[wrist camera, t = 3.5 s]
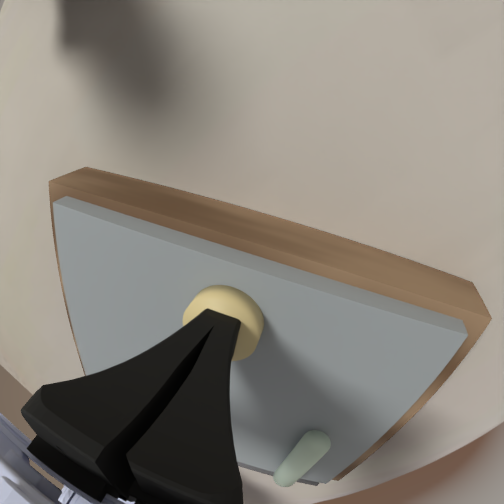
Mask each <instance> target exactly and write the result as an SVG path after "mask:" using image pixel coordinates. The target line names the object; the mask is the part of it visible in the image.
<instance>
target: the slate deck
mask: <svg viewBox="0 0 504 504" xmlns="http://www.w3.org/2000/svg"><path fill="white" fill-rule="evenodd" d="M53 212H54V223H55V233H56V241H57V249H58V256H59V263H60V269H61V275H62V281H63V286H64V292H65V297H66V301H67V306H68V311H69V315H70V319H71V324H72V328H73V332H74V336H75V339H76V343H77V347H78V350H79V354H80V357H81V361H82V364H83V367H84V370H85V374H86V376H87V375H90V374H94V373H97V372H100V371H103V370H105V369H108V368H110V367H113V366H115V365H118V364H120V363H122V362H125V361H127V360H129V359H131V358H133V357H135V356H137V355H139V354H141V353H143V352H144V351H146V350H148V349H150V348H151V347H153V346H155V345H156V344H158V343H160V342H161V341H163V340H164V339H166V338H167V337H169V336H170V335H172V334H173V333H175V332H176V331H178V330H179V329H180V328H182V327H183V326H185V325H186V324H187V323H189V322H190V321H191V320H192V319H194V318H195V317H196V316H197V315H199V314H200V313H201V312H202V311H203V310H205V309H207V308H209V309H211V310H214V311H217V312H220V313H222V314H225V315H228V316H231V317H234V318H237V319H239V320H240V322H241V326H240V330H239V334H238V338H237V342H236V347H235V351H234V355H233V358H232V360H231V371H230V412H231V424H232V432H233V440H234V447H235V453H236V458H237V463H238V466H241V467H244V468H247V469H250V470H254V471H257V472H261V473H264V474H268V475H271V476H273V479H274V481H275V483H276V484H278V485H279V486H282V487H289V486H291V485H293V484H294V483H295V482H300V483H305V484H310V485H315V486H317V485H318V484H319V482H320V483H325V484H326V483H328V482H329V481H330V480H332V479H333V478H334V477H335V476H337V475H338V474H339V473H341V472H342V471H343V470H344V469H345V468H347V467H348V466H349V465H350V464H352V463H353V462H354V461H355V460H356V459H357V458H359V457H360V456H361V455H362V454H363V453H364V452H365V451H367V450H368V449H369V448H370V447H371V446H372V445H373V444H374V443H375V442H376V441H378V440H379V439H380V438H381V437H382V436H383V435H384V434H385V433H386V432H387V431H388V430H389V429H390V428H391V427H392V426H393V425H394V424H395V423H396V422H397V421H398V420H399V419H400V418H401V417H402V416H403V415H404V414H405V413H406V412H407V411H408V410H409V408H410V407H411V406H412V405H413V404H414V403H415V402H416V401H417V400H418V399H419V397H420V396H421V395H422V394H423V393H424V392H425V391H426V389H427V388H428V387H429V386H430V385H431V384H432V382H433V381H434V380H435V379H436V377H437V376H438V375H439V374H440V373H441V371H442V370H443V369H444V367H445V366H446V365H447V364H448V362H449V361H450V360H451V358H452V357H453V356H454V354H455V353H456V352H457V350H458V349H459V348H460V346H461V345H462V343H463V342H464V341H465V339H466V338H467V336H468V333H467V330H466V328H465V325H464V323H463V320H461V319H457V318H454V317H451V316H448V315H445V314H441V313H438V312H435V311H432V310H428V309H425V308H422V307H419V306H416V305H412V304H409V303H406V302H403V301H399V300H396V299H393V298H390V297H387V296H383V295H380V294H377V293H374V292H371V291H367V290H364V289H361V288H358V287H354V286H351V285H348V284H345V283H342V282H338V281H335V280H332V279H329V278H326V277H322V276H319V275H316V274H313V273H310V272H306V271H303V270H300V269H297V268H294V267H291V266H287V265H284V264H281V263H278V262H275V261H271V260H268V259H265V258H262V257H259V256H255V255H252V254H249V253H246V252H243V251H240V250H236V249H233V248H230V247H227V246H224V245H220V244H217V243H214V242H211V241H208V240H205V239H201V238H198V237H195V236H192V235H189V234H186V233H182V232H179V231H176V230H173V229H170V228H167V227H163V226H160V225H157V224H154V223H151V222H148V221H144V220H141V219H138V218H135V217H132V216H129V215H125V214H122V213H119V212H116V211H113V210H110V209H107V208H103V207H100V206H97V205H94V204H91V203H88V202H84V201H81V200H78V199H75V198H72V197H69V196H65V197H63V198H61V199H59V200H57V201H54V202H53Z"/></svg>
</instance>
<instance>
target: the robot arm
mask: <svg viewBox="0 0 504 504" xmlns="http://www.w3.org/2000/svg"><path fill="white" fill-rule="evenodd" d="M240 326H241V322H240V320H239V319H237V318H234V317H231V316H228V315H225V314H222V313H220V312H217V311H214V310H211V309H209V308H207V309H205V310H203V311H202V312H201V313H200V314H199V315H197V316H196V317H195V318H194V319H192V320H191V321H190V322H189V323H187V324H186V325H185V326H183V327H182V328H180V329H179V330H178V331H176V332H175V333H173V334H172V335H170V336H169V337H167V338H166V339H164V340H163V341H161V342H160V343H158V344H156V345H155V346H153V347H151V348H150V349H148V350H146V351H144V352H143V353H141V354H139V355H137V356H135V357H133V358H131V359H129V360H127V361H125V362H122V363H120V364H118V365H115V366H113V367H110V368H108V369H105V370H103V371H100V372H97V373H94V374H90V375H87V376H84V377H80V378H77V379H73V380H68V381H63V382H58V383H53V384H47V385H43V386H42V387H41V388H40V389H39V390H37V391H36V392H35V394H34V395H33V396H32V397H31V398H30V399H29V401H28V402H27V403H26V404H25V406H23V408H22V409H21V413H22V416H23V417H24V418H25V420H26V421H27V422H28V424H29V425H30V426H31V428H32V429H33V430H34V431H35V432H36V434H37V436H36V437H35V438H34V440H33V441H31V440H30V439H29V438H28V437H27V436H25V435H24V434H23V433H22V432H21V431H20V430H19V429H17V428H16V427H15V426H14V425H13V424H12V423H11V422H10V421H9V420H8V419H7V418H6V417H5V416H3V415H2V414H1V413H0V504H243V492H242V480H241V476H240V472H239V468H238V463H237V458H236V453H235V447H234V440H233V432H232V424H231V412H230V371H231V360H232V358H233V355H234V351H235V347H236V342H237V338H238V334H239V330H240ZM28 457H29V458H30V459H31V460H32V461H33V462H35V463H36V464H37V465H38V466H39V467H41V468H42V469H43V470H45V471H46V472H47V473H49V474H50V475H51V476H52V477H54V478H55V479H56V480H58V481H59V482H61V483H62V484H63V485H65V486H64V487H63V489H62V490H60V489H59V488H57V487H56V486H55V485H54V484H52V483H51V482H50V481H48V480H47V479H46V478H45V477H44V476H42V475H41V474H40V473H39V472H38V471H36V470H35V469H34V468H33V467H32V466H30V464H29V458H28Z"/></svg>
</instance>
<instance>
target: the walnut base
mask: <svg viewBox="0 0 504 504" xmlns="http://www.w3.org/2000/svg"><path fill="white" fill-rule="evenodd" d="M49 195H50V208H51V219H52V228H53V237H54V244H55V251H56V258H57V264H58V270H59V276H60V281H61V286H62V291H63V296H64V301H65V305H66V310H67V314H68V318H69V322H70V326H71V330H72V334H73V337H74V341H75V344H76V348H77V351H78V355H79V358H80V361H81V357H80V354H79V350H78V347H77V343H76V339H75V336H74V332H73V328H72V324H71V319H70V315H69V311H68V306H67V301H66V297H65V292H64V286H63V281H62V275H61V269H60V263H59V256H58V249H57V241H56V233H55V223H54V212H53V202H54V201H57V200H59V199H61V198H63V197H65V196H69V197H72V198H75V199H78V200H81V201H84V202H88V203H91V204H94V205H97V206H100V207H103V208H107V209H110V210H113V211H116V212H119V213H122V214H125V215H129V216H132V217H135V218H138V219H141V220H144V221H148V222H151V223H154V224H157V225H160V226H163V227H167V228H170V229H173V230H176V231H179V232H182V233H186V234H189V235H192V236H195V237H198V238H201V239H205V240H208V241H211V242H214V243H217V244H220V245H224V246H227V247H230V248H233V249H236V250H240V251H243V252H246V253H249V254H252V255H255V256H259V257H262V258H265V259H268V260H271V261H275V262H278V263H281V264H284V265H287V266H291V267H294V268H297V269H300V270H303V271H306V272H310V273H313V274H316V275H319V276H322V277H326V278H329V279H332V280H335V281H338V282H342V283H345V284H348V285H351V286H354V287H358V288H361V289H364V290H367V291H371V292H374V293H377V294H380V295H383V296H387V297H390V298H393V299H396V300H399V301H403V302H406V303H409V304H412V305H416V306H419V307H422V308H425V309H428V310H432V311H435V312H438V313H441V314H445V315H448V316H451V317H454V318H457V319H461V320H463V323H464V325H465V328H466V330H467V333H468V336H467V338H466V339H465V341H464V342H463V343H462V345H461V346H460V348H459V349H458V350H457V352H456V353H455V354H454V356H453V357H452V358H451V360H450V361H449V362H448V364H447V365H446V366H445V367H444V369H443V370H442V371H441V373H440V374H439V375H438V376H437V377H436V379H435V380H434V381H433V382H432V384H431V385H430V386H429V387H428V388H427V389H426V391H425V392H424V393H423V394H422V395H421V396H420V397H419V399H418V400H417V401H416V402H415V403H414V404H413V405H412V406H411V407H410V408H409V410H408V411H407V412H406V413H405V414H404V415H403V416H402V417H401V418H400V419H399V420H398V421H397V422H396V423H395V424H394V425H393V426H392V427H391V428H390V429H389V430H388V431H387V432H386V433H385V434H384V435H383V436H382V437H381V438H380V439H379V440H378V441H376V442H375V443H374V444H373V445H372V446H371V447H370V448H369V449H368V450H367V451H365V452H364V453H363V454H362V455H361V456H360V457H359V458H357V459H356V460H355V461H354V462H353V463H352V464H350V465H349V466H348V467H347V468H345V469H344V470H343V471H342V472H341V473H339V474H338V475H337V476H335V477H334V478H333V479H332V480H337V481H338V480H340V479H341V478H343V477H344V476H345V475H347V474H348V473H349V472H350V471H352V470H353V469H354V468H356V467H357V466H358V465H359V464H361V463H362V462H363V461H364V460H366V459H367V458H368V457H369V456H370V455H372V454H373V453H374V452H375V451H376V450H377V449H379V448H380V447H381V446H382V445H383V444H384V443H385V442H387V441H388V440H389V439H390V438H391V437H392V436H393V435H394V434H395V433H396V432H397V431H398V430H399V429H401V428H402V427H403V426H404V425H405V424H406V423H407V422H408V421H409V420H410V419H411V418H412V417H413V416H414V415H415V414H416V413H417V412H418V411H419V410H420V409H421V408H422V406H423V405H424V404H425V403H426V402H427V401H428V400H429V399H430V398H431V397H432V396H433V395H434V393H435V392H436V391H437V390H438V389H439V388H440V387H441V386H442V384H443V383H444V382H445V381H446V380H447V378H448V377H449V376H450V375H451V374H452V372H453V371H454V370H455V369H456V368H457V366H458V365H459V364H460V363H461V361H462V360H463V359H464V357H465V356H466V355H467V353H468V352H469V351H470V349H471V348H472V347H473V345H474V344H475V343H476V341H477V340H478V338H479V337H480V336H481V334H482V333H483V331H484V330H485V328H486V327H487V325H488V324H489V322H490V321H491V319H492V318H491V316H490V314H489V312H488V310H487V308H486V306H485V304H484V302H483V300H482V298H481V296H480V295H479V293H478V291H477V289H476V287H475V286H474V284H473V283H472V282H470V281H467V280H464V279H462V278H459V277H456V276H454V275H451V274H448V273H445V272H443V271H440V270H437V269H434V268H431V267H429V266H426V265H423V264H420V263H417V262H414V261H411V260H409V259H406V258H403V257H400V256H397V255H394V254H391V253H388V252H385V251H382V250H379V249H376V248H373V247H370V246H367V245H364V244H361V243H358V242H355V241H352V240H349V239H346V238H342V237H339V236H336V235H333V234H330V233H327V232H323V231H320V230H317V229H314V228H311V227H307V226H304V225H301V224H298V223H294V222H291V221H288V220H284V219H281V218H278V217H274V216H271V215H267V214H264V213H261V212H257V211H254V210H250V209H247V208H243V207H240V206H236V205H233V204H229V203H226V202H222V201H218V200H215V199H211V198H207V197H204V196H200V195H196V194H193V193H189V192H185V191H181V190H178V189H174V188H170V187H166V186H162V185H158V184H154V183H150V182H146V181H142V180H138V179H134V178H130V177H126V176H122V175H118V174H114V173H109V172H105V171H101V170H97V169H92V168H88V167H84V168H82V169H79V170H76V171H74V172H71V173H68V174H66V175H63V176H61V177H58V178H56V179H53V180H51V181H49ZM81 364H82V361H81ZM82 368H83V371H84V374H85V370H84V367H83V364H82ZM85 376H86V374H85Z"/></svg>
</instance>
